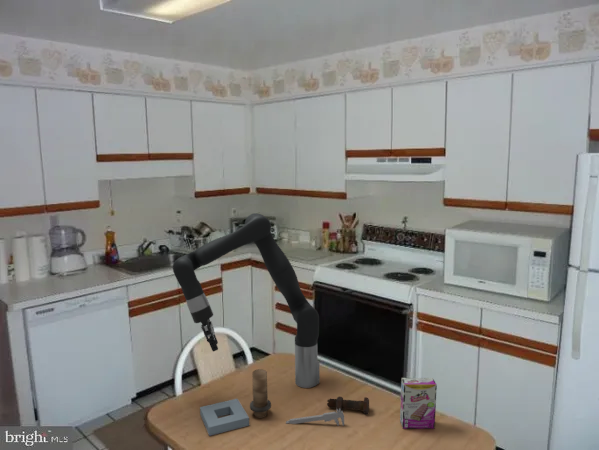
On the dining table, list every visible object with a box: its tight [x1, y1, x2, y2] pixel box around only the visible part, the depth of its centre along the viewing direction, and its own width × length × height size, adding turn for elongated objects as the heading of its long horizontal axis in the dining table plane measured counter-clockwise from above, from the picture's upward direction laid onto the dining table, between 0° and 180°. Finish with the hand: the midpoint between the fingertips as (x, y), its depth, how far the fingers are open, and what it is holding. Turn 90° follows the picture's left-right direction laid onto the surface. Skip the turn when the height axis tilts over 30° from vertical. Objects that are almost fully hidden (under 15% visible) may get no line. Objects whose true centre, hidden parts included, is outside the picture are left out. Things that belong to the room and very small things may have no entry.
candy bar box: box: [399, 377, 438, 430], centre depth 154 cm, size 11×5×16 cm, turn 89°
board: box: [199, 398, 250, 436], centre depth 160 cm, size 14×14×3 cm
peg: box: [249, 368, 272, 419], centre depth 162 cm, size 8×8×16 cm
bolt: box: [326, 396, 370, 415], centre depth 165 cm, size 6×5×15 cm
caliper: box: [285, 408, 345, 427], centre depth 157 cm, size 20×1×6 cm, turn 85°
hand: (215, 347), depth 169 cm, fingers open, 8 cm apart
